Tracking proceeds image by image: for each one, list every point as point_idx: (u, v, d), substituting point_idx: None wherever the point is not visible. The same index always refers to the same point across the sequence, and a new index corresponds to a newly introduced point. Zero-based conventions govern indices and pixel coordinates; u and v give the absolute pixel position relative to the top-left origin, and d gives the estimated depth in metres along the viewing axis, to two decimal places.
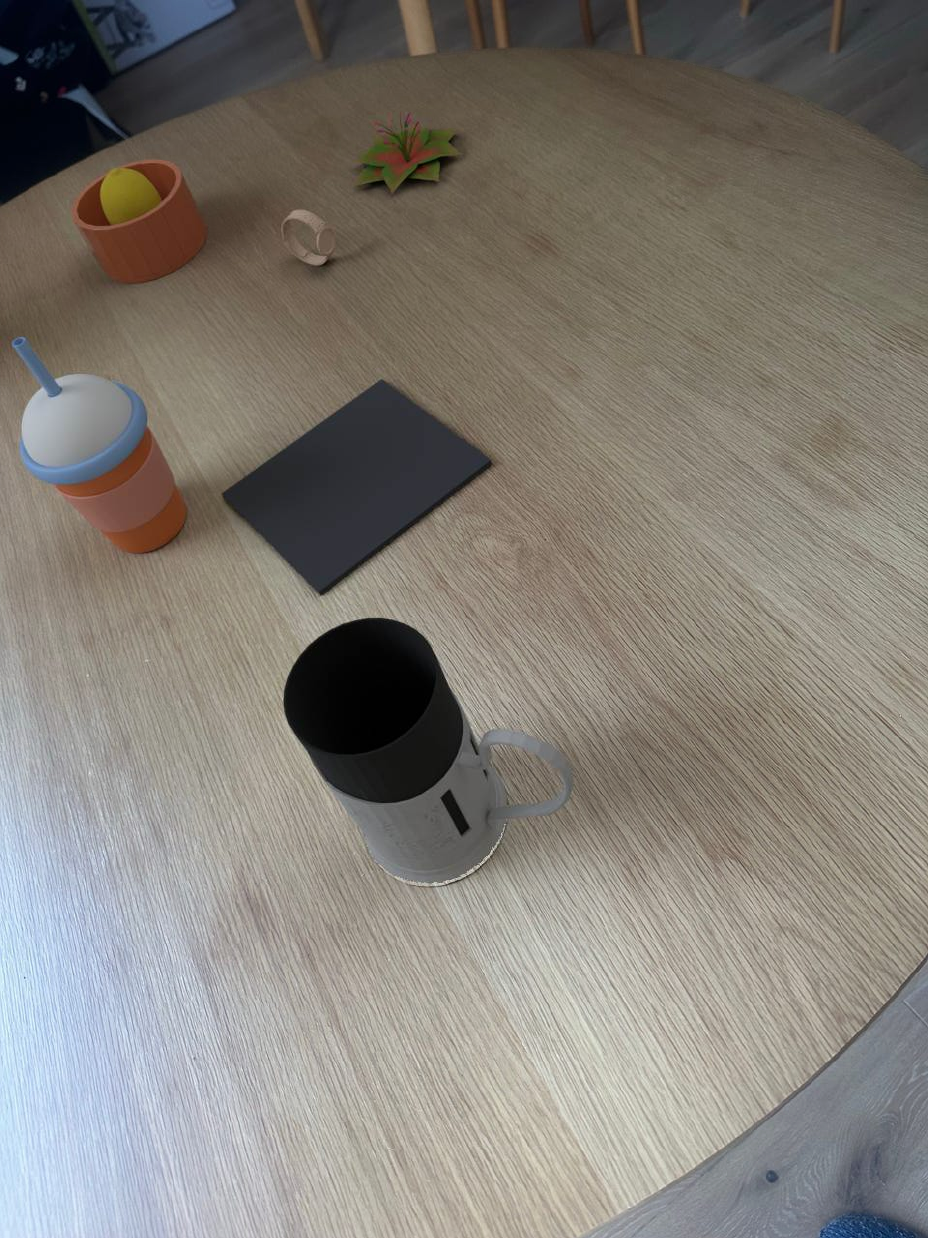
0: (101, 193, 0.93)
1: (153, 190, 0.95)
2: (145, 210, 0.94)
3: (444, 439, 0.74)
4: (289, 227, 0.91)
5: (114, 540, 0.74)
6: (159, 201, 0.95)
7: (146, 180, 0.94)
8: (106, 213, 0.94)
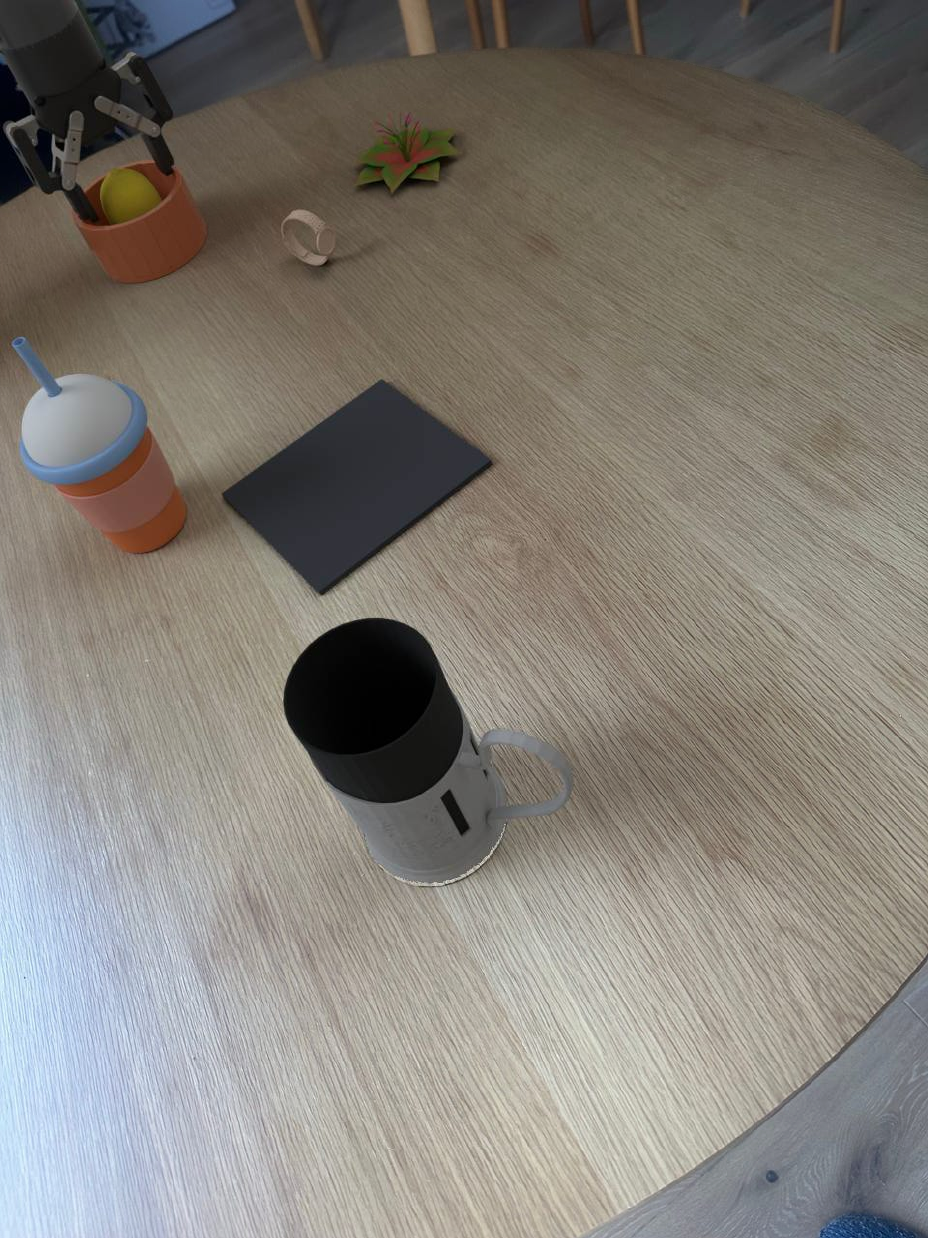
0: (101, 193, 0.93)
1: (153, 190, 0.95)
2: (145, 210, 0.94)
3: (444, 439, 0.74)
4: (289, 227, 0.91)
5: (114, 540, 0.74)
6: (159, 201, 0.95)
7: (146, 180, 0.94)
8: (106, 213, 0.94)
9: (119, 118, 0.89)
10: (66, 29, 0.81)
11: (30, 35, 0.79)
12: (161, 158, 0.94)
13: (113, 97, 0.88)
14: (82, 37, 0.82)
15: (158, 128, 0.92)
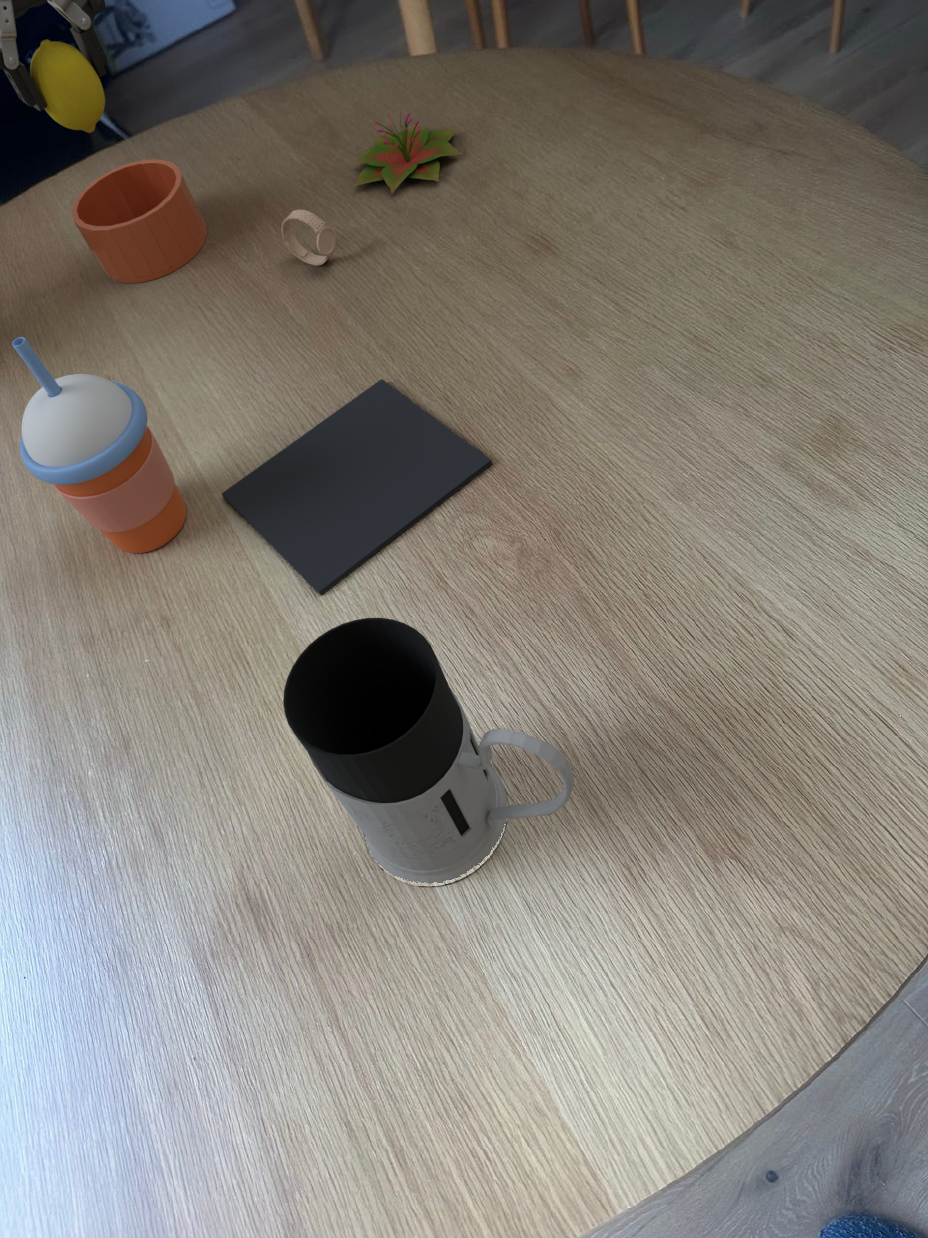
0: (31, 68, 0.84)
1: (90, 67, 0.85)
2: (80, 89, 0.84)
3: (444, 439, 0.74)
4: (289, 227, 0.91)
5: (114, 540, 0.74)
6: (97, 80, 0.86)
7: (82, 55, 0.85)
8: None
9: None
10: None
11: None
12: (92, 55, 0.85)
13: None
14: None
15: (88, 19, 0.83)
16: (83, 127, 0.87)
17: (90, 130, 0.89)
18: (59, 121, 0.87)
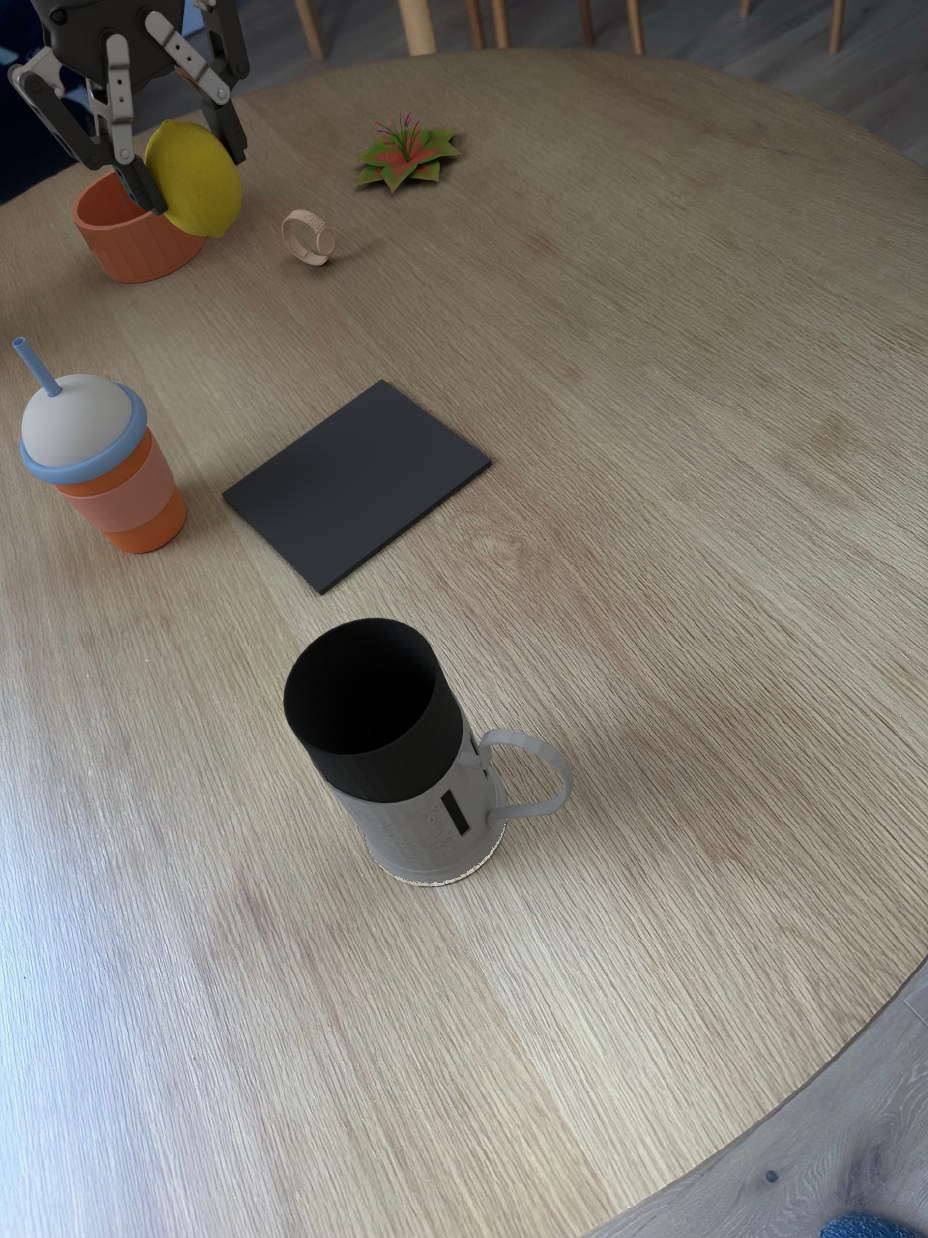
0: (147, 159, 0.60)
1: (226, 154, 0.62)
2: (214, 185, 0.61)
3: (444, 439, 0.74)
4: (289, 227, 0.91)
5: (114, 540, 0.74)
6: (234, 171, 0.62)
7: (215, 139, 0.61)
8: None
9: (176, 57, 0.56)
10: None
11: None
12: (230, 138, 0.61)
13: (173, 16, 0.55)
14: None
15: (227, 91, 0.60)
16: (213, 233, 0.64)
17: (220, 235, 0.65)
18: (182, 227, 0.63)
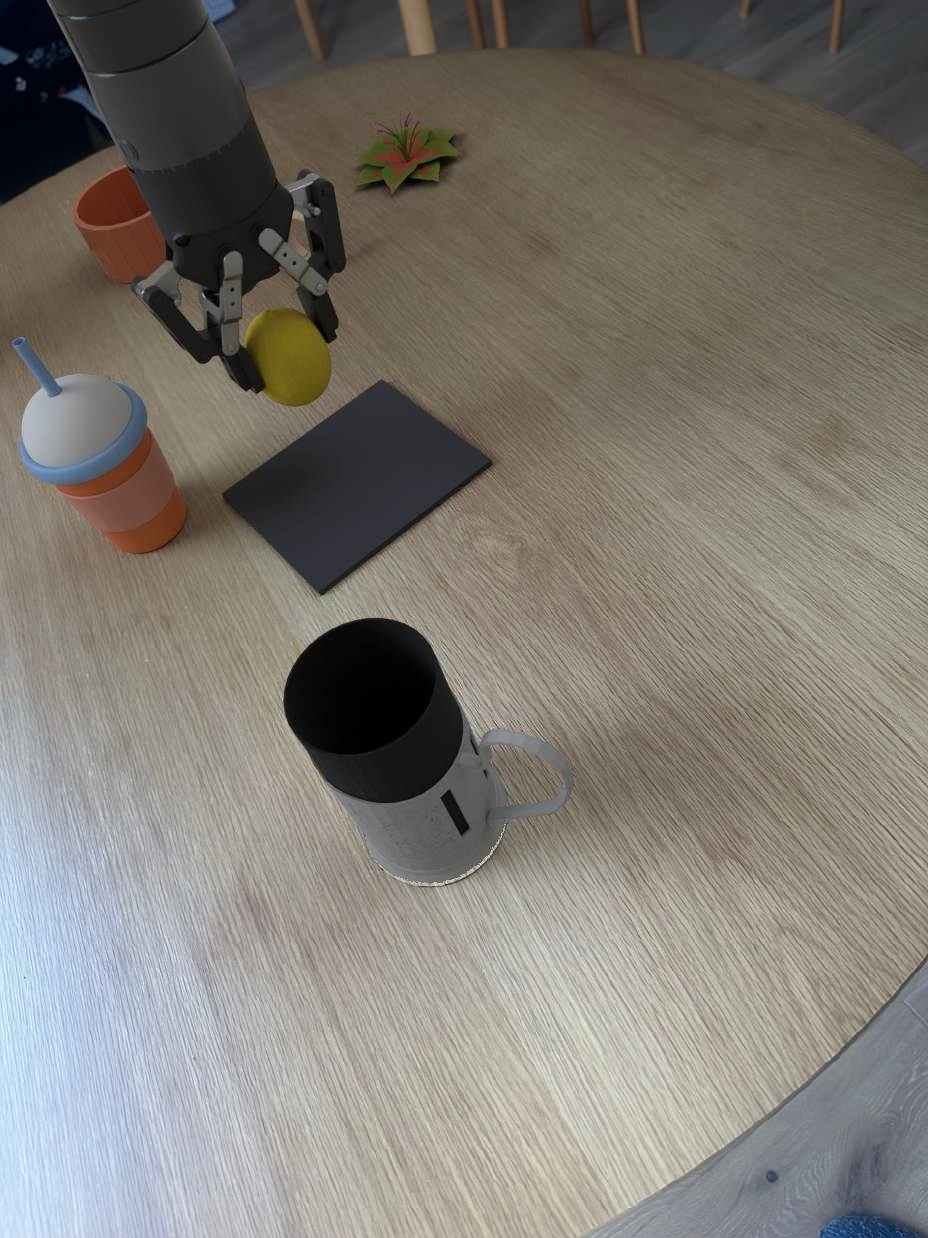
0: (248, 344, 0.65)
1: (320, 337, 0.66)
2: (309, 368, 0.65)
3: (444, 439, 0.74)
4: None
5: (114, 540, 0.74)
6: (327, 352, 0.67)
7: (311, 324, 0.65)
8: None
9: (283, 263, 0.60)
10: (235, 140, 0.52)
11: (184, 151, 0.51)
12: (324, 322, 0.66)
13: (282, 227, 0.60)
14: (255, 150, 0.54)
15: (325, 284, 0.64)
16: None
17: (309, 402, 0.70)
18: (276, 401, 0.67)
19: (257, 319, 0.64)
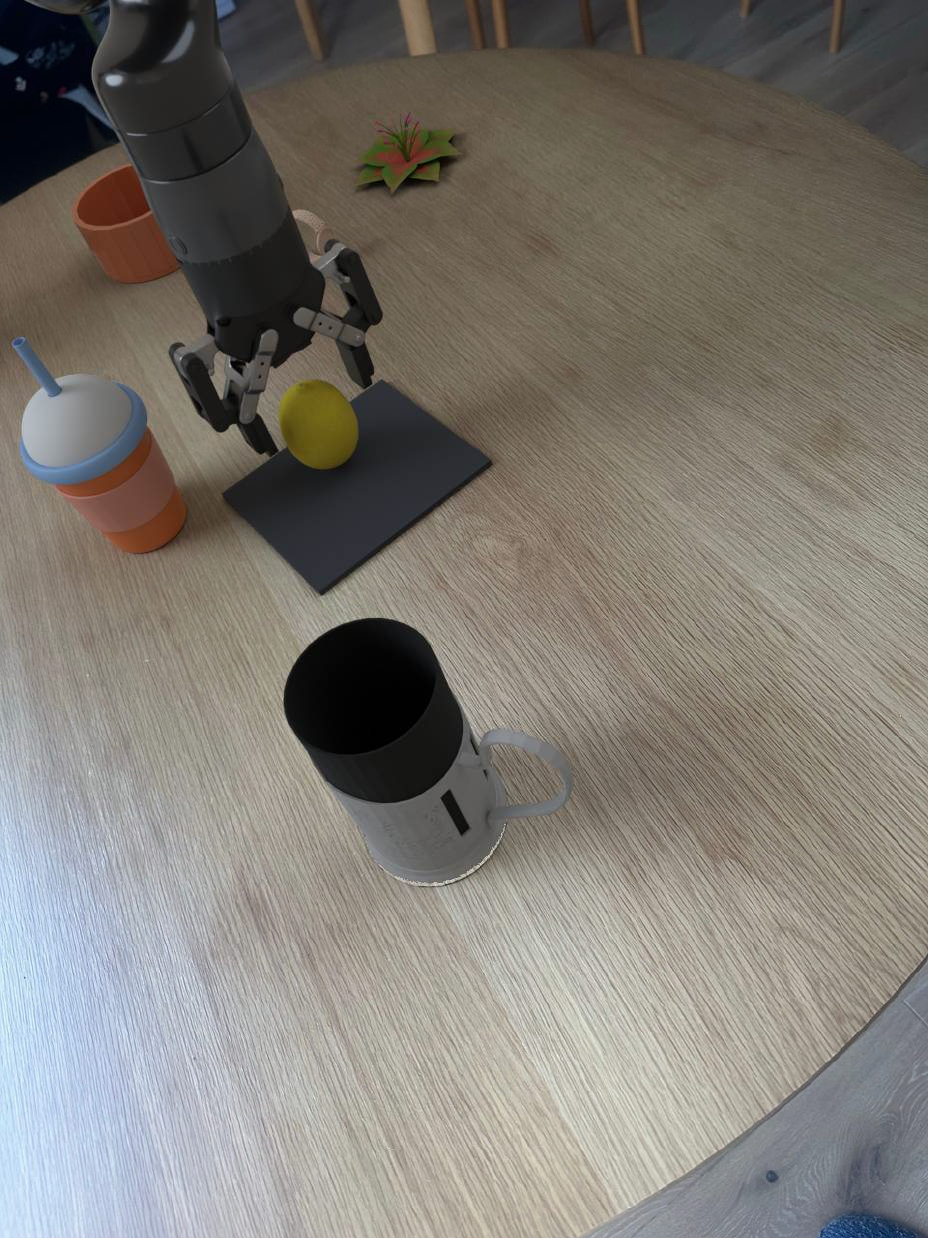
0: (282, 414, 0.70)
1: (348, 407, 0.71)
2: (339, 436, 0.70)
3: (444, 439, 0.74)
4: None
5: (114, 540, 0.74)
6: (354, 419, 0.72)
7: (340, 395, 0.70)
8: (286, 438, 0.71)
9: (320, 331, 0.65)
10: (275, 235, 0.57)
11: (229, 247, 0.56)
12: (361, 370, 0.70)
13: (314, 305, 0.64)
14: (292, 241, 0.58)
15: (363, 335, 0.68)
16: (333, 467, 0.73)
17: None
18: (307, 465, 0.72)
19: (290, 391, 0.70)
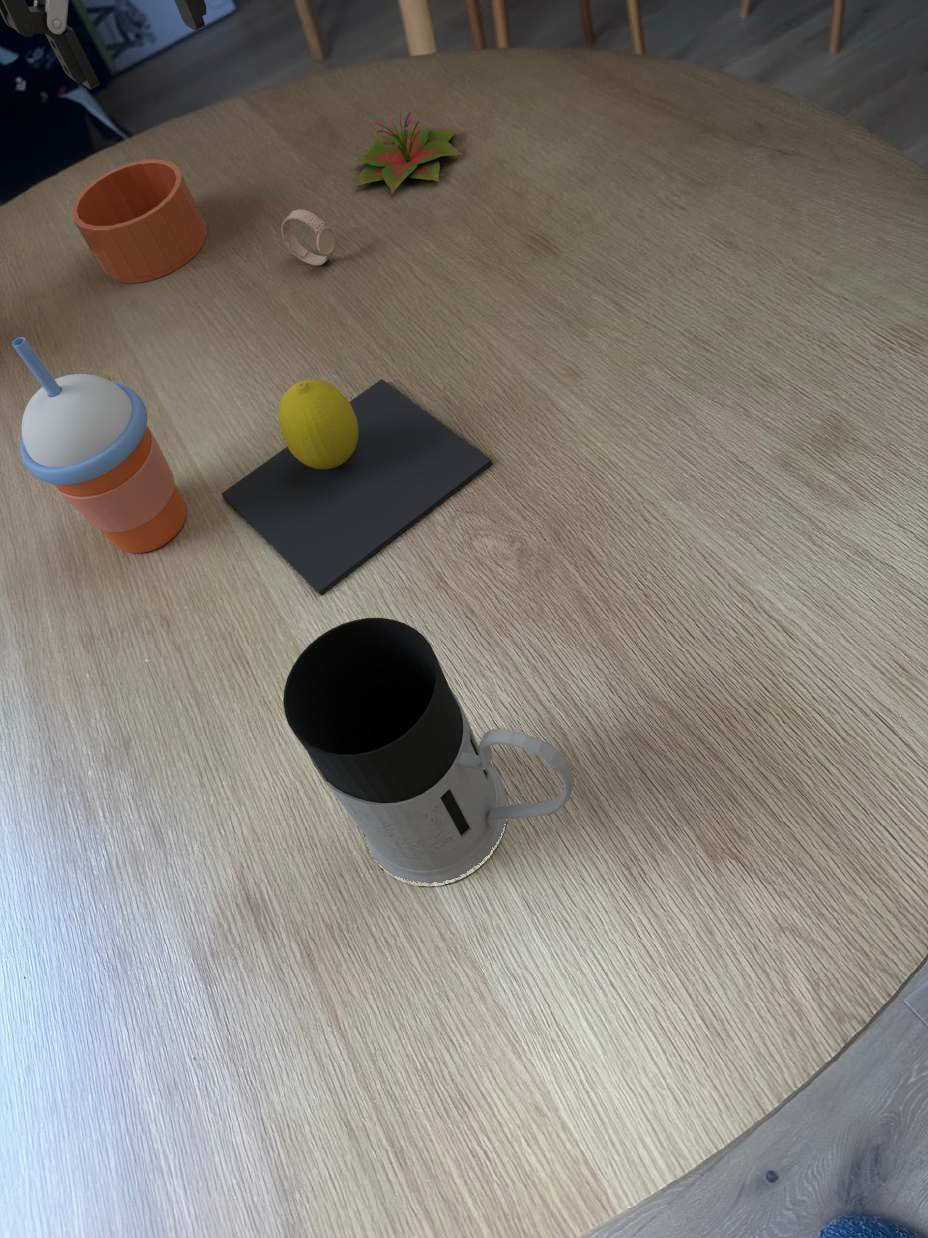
0: (282, 414, 0.70)
1: (348, 407, 0.71)
2: (339, 436, 0.70)
3: (444, 439, 0.74)
4: (289, 227, 0.91)
5: (114, 540, 0.74)
6: (354, 419, 0.72)
7: (340, 395, 0.70)
8: (286, 438, 0.71)
9: None
10: None
11: None
12: (189, 1, 0.67)
13: None
14: None
15: None
16: (333, 467, 0.73)
17: None
18: (307, 465, 0.72)
19: (290, 391, 0.70)
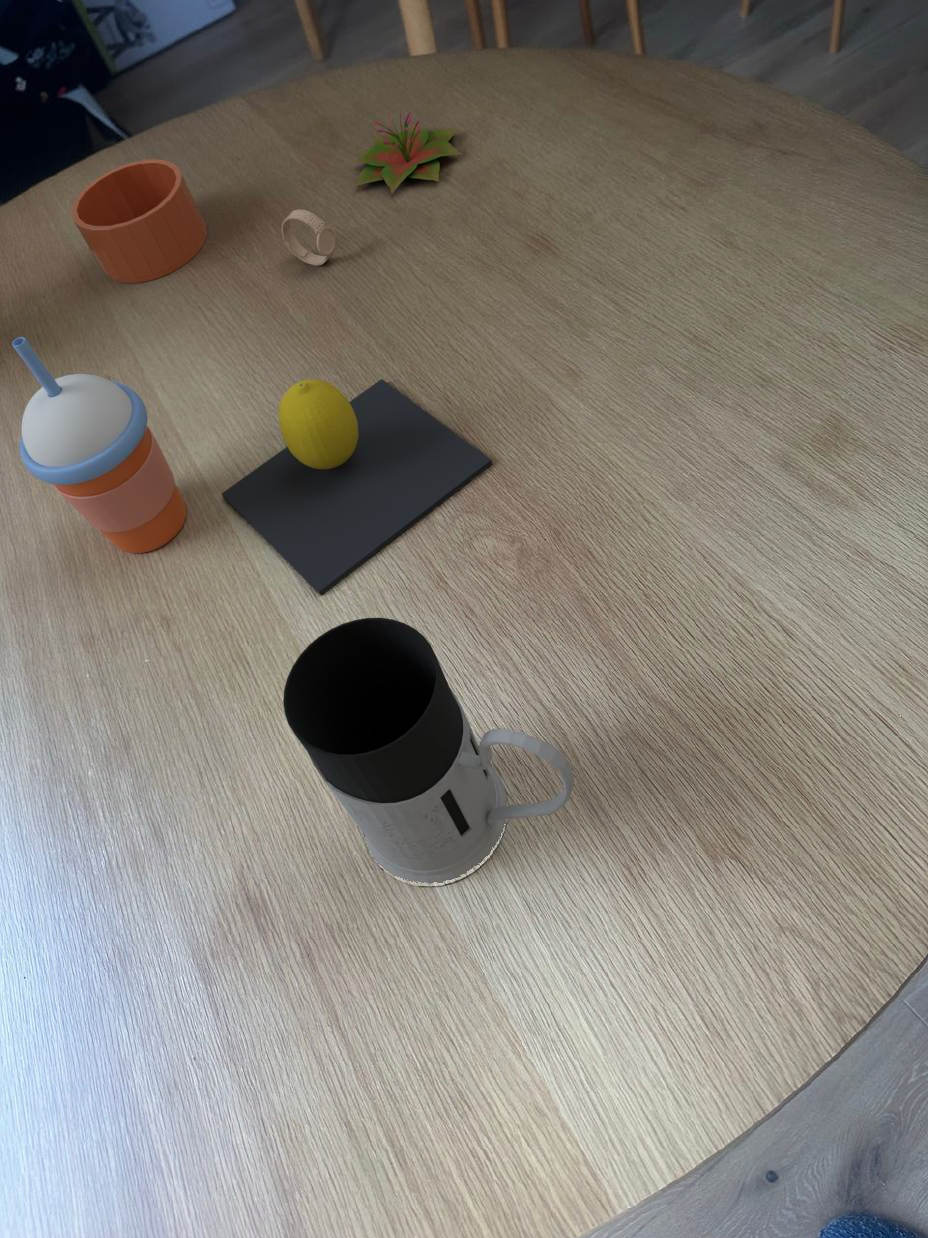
0: (282, 414, 0.70)
1: (348, 407, 0.71)
2: (339, 436, 0.70)
3: (444, 439, 0.74)
4: (289, 227, 0.91)
5: (114, 540, 0.74)
6: (354, 419, 0.72)
7: (340, 395, 0.70)
8: (286, 438, 0.71)
9: None
10: None
11: None
12: None
13: None
14: None
15: None
16: (333, 467, 0.73)
17: None
18: (307, 465, 0.72)
19: (290, 391, 0.70)
